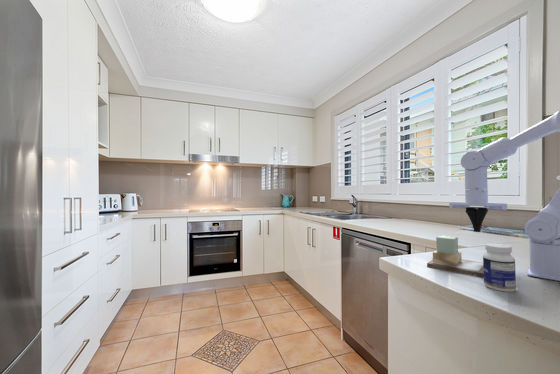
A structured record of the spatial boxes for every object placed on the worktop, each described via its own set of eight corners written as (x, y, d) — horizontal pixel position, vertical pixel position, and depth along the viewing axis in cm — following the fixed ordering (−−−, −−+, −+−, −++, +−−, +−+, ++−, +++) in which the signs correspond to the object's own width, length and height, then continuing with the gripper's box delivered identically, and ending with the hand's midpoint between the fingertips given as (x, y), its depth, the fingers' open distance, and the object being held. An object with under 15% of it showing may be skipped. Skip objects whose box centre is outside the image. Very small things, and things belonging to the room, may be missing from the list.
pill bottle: (483, 281, 62) (482, 241, 62) (515, 286, 59) (513, 244, 59) (483, 288, 58) (482, 245, 58) (517, 294, 54) (516, 248, 54)
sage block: (458, 252, 75) (457, 237, 75) (454, 254, 72) (453, 239, 72) (441, 249, 79) (440, 235, 79) (436, 252, 76) (436, 237, 76)
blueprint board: (494, 267, 73) (493, 253, 73) (487, 278, 64) (486, 262, 64) (439, 258, 83) (438, 246, 83) (427, 266, 75) (426, 252, 75)
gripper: (507, 188, 78) (508, 232, 77) (452, 189, 88) (453, 227, 88) (505, 189, 73) (506, 235, 73) (447, 189, 83) (448, 230, 83)
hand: (477, 231), depth 80 cm, fingers closed
